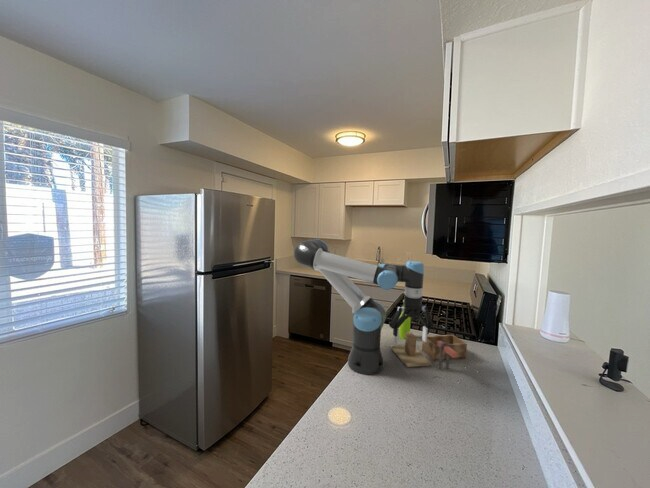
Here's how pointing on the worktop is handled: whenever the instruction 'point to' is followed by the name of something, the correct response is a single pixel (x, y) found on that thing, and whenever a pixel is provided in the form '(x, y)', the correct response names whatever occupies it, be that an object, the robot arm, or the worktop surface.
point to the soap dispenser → (404, 327)
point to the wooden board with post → (410, 352)
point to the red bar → (448, 350)
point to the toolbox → (438, 352)
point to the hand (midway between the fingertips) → (410, 342)
